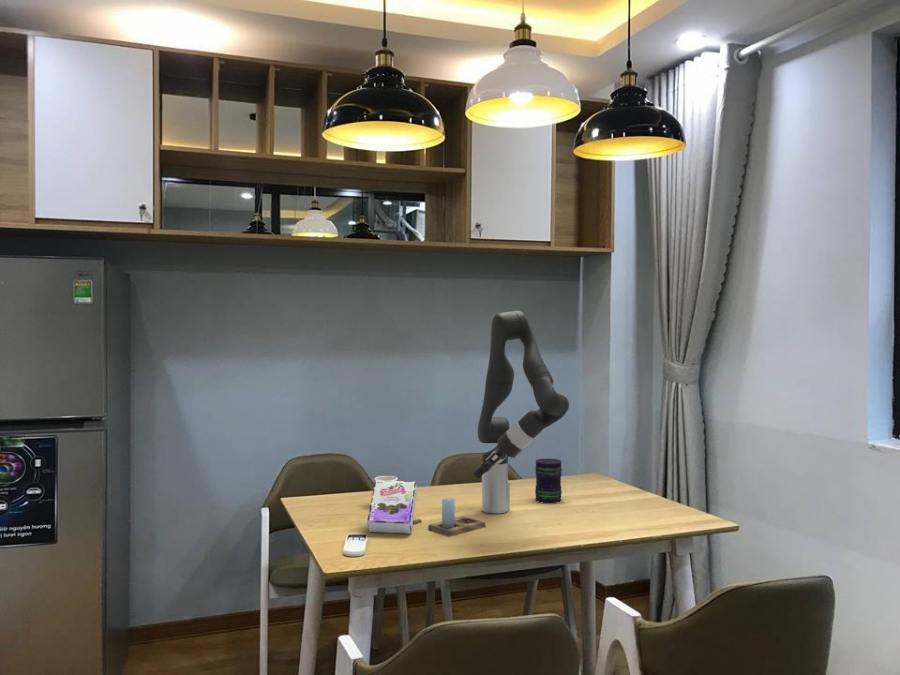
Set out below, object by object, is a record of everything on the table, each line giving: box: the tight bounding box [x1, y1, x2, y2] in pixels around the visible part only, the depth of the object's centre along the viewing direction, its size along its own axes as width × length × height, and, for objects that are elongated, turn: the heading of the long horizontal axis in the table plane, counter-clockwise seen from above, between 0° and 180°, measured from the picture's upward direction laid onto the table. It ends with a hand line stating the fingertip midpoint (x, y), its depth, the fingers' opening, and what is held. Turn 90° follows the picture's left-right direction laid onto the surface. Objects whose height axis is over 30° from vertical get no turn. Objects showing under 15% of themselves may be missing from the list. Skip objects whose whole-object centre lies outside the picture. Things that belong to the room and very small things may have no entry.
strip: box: [413, 516, 422, 525], centre depth 235 cm, size 7×4×8 cm, turn 133°
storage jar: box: [534, 458, 563, 504], centre depth 267 cm, size 10×10×15 cm
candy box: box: [366, 479, 418, 535], centre depth 228 cm, size 14×6×16 cm
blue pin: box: [441, 497, 456, 529], centre depth 227 cm, size 4×4×10 cm
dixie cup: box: [374, 475, 398, 481], centre depth 259 cm, size 8×8×10 cm
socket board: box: [427, 515, 486, 537], centre depth 230 cm, size 16×10×2 cm, turn 133°
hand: (480, 473), depth 223 cm, fingers open, 8 cm apart
